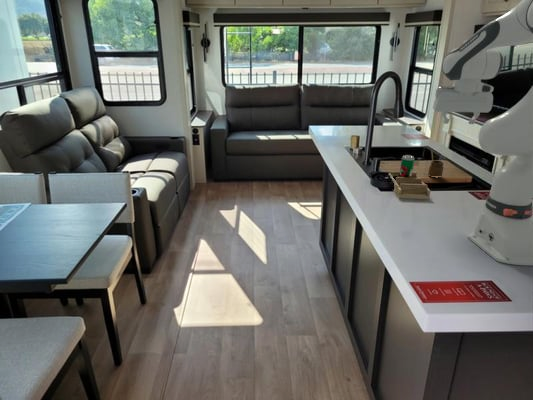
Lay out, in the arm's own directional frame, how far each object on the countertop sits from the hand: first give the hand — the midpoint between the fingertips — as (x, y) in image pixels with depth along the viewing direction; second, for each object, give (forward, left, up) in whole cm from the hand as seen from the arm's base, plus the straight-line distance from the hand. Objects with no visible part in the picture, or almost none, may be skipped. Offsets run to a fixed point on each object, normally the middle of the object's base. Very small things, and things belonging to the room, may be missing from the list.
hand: (458, 123), depth 147 cm
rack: (+4, +14, -29) cm, 33 cm away
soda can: (+8, +14, -28) cm, 33 cm away
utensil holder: (+22, -3, -29) cm, 37 cm away
